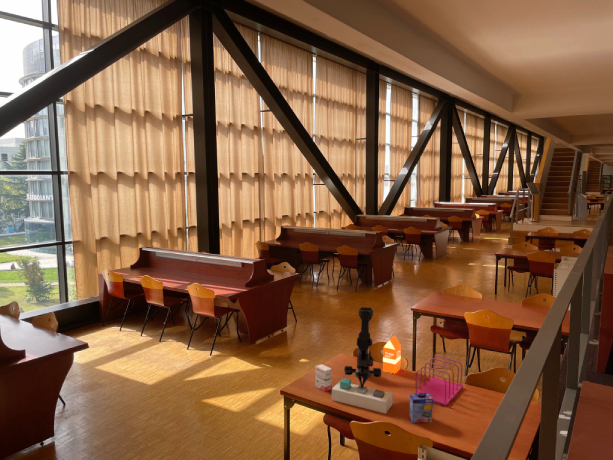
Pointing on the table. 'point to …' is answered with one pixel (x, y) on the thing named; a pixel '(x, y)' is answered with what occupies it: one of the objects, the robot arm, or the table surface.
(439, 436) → the table surface
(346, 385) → the teal key
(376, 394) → the charcoal key
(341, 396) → the keypad
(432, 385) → the file sorter
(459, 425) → the table surface
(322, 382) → the ink box
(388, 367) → the orange juice
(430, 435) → the table surface
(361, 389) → the slate key
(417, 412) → the ink cartridge box
